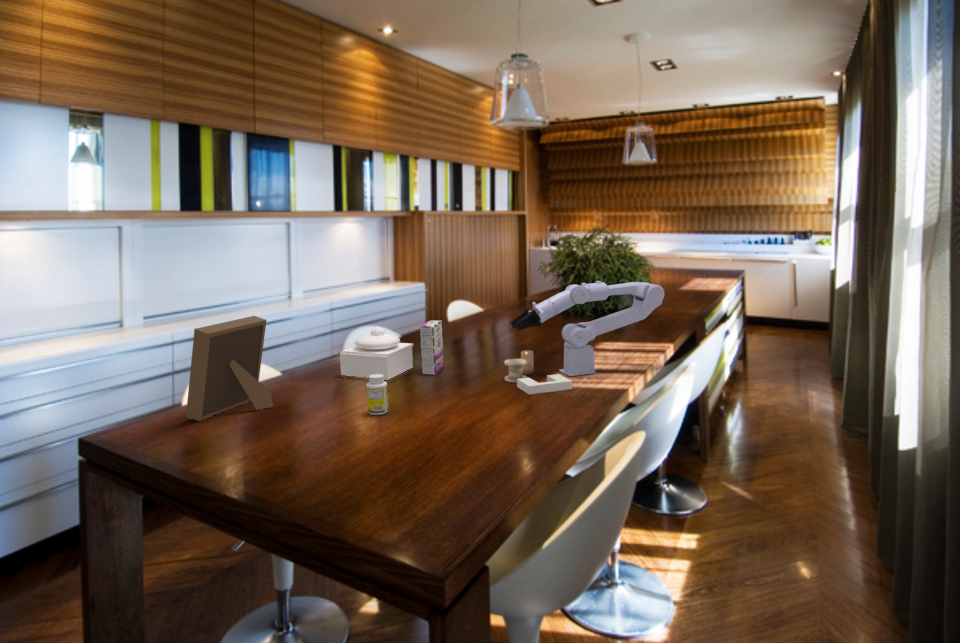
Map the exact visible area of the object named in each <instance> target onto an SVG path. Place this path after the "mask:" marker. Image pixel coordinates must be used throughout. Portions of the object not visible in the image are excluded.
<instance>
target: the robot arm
mask: <svg viewBox="0 0 960 643" xmlns="http://www.w3.org/2000/svg"><path fill="white" fill-rule="evenodd" d="M620 295H632V296H633V303H632V306H631V307H628V308H626V309H625V308H624V309H622V310H619V311H617V312H614V313H611V314H607V315H605V316H601V317H600V318H597V319H593V320H591V321H586V322H585V321H584V322H579V323H567V324H565V325H564V326H563V328H562V330H561V338H562V339H563V340H564V343H563V368H561V369H560V368H559V370H558V371H559V372H561V373H562V374H564V375H566V376H569V377H573V376H574V377H576V376H582V375H591V374H596V373H597V372H596V370H595V358H596V357H595V350H594V348H593V346H592V345H591V344H588V343H589V342H591V341H594V340H595V338H596V337H597V336H600V335H603V334H606V333H608V332H611V331H615V330H618V329H620V328H623V327H625V326H628V325H632V324H634V323H638V322H640V321H643V320H645V319H646V318H648V316H650V315H651V314H652V312H653V311H654V310H655V309H656V308H658V307H659V306H661V305H662V304H663V300H664V298H665V290H664V288H663V287H662V286H661V285H659V284H653V283H649V282H647V281H642V282H640V281H631V282H624V283H617V284H610V285H608V284H607V283H605V281H604V282H603V281H601V280H596V281H595V282H593V283H586V282H582V283H581V285H579V284H568V286H566V288H565V289H564V290H563V291H561V292H558V293H556V294H555V295H552V296H551V297H548V298H546V299H545V300H543V301H541V302H539V303H536V302H535V301H533V302H532V309H530V310H529V309H528V308H527V307H525V308H524V309H523V310H522V312H521V313H520V314H519V315H518V316H516V317H515V318H514V319H513V320H511V321H510V324H511V327H512V329H517V331H523V330H525V329H528V328H529V329H530V328H533V327H542V323H544V322H546V321H547V320H549V319H551V318H552V317H555V316H557V315H559V314H560V313H562V312H563V311H566V310H568V309H569V308H571V307H574V306H575V305H576V304H577V305H579V304H580V305H583V304H585V303H587V302H595V301H596V302H597V301H605V300H607V299H608V297H609V296H620Z"/></svg>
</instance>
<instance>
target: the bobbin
mask: <svg viewBox="0 0 960 643" xmlns="http://www.w3.org/2000/svg"><path fill="white" fill-rule="evenodd" d="M526 364H527V361H526V360H524V359H521V358H510V359H509V358H508V359H505V360H504V365H505V366H508V375H506V376H504V381H505V382H507V383H513V384H514V383H515V384H517V379H521V378H528V376H527V375H526V374H523V365H526Z"/></svg>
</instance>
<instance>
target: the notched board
mask: <svg viewBox="0 0 960 643" xmlns="http://www.w3.org/2000/svg"><path fill="white" fill-rule="evenodd" d="M516 388H518V389H520V390H521V391H523V392H524V393H526V394H528V395H537V394H545V393H553V392H560V391H569V390H570V391H571V390H573V380H571V379H569V378H567V377H565V376H563V375H562V374H560V373H558V374H550V375H549V374H547V375H546V381H545V382H537V381H536V380H534V379H532V378H531V377H527V378H521V379H517V383H516Z"/></svg>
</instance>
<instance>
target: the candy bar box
mask: <svg viewBox="0 0 960 643" xmlns="http://www.w3.org/2000/svg"><path fill="white" fill-rule="evenodd" d="M419 335H420V337H419V339H420V355H421V356H420V357H421V374H422V375H423V374H427V375H426V376H436V375H437V374H438V373H440V371H441V370H442V369H444V367H445V362H444V339H443V320H428V321H427V322H425V323H423V324H422V325H420V326H419Z"/></svg>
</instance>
